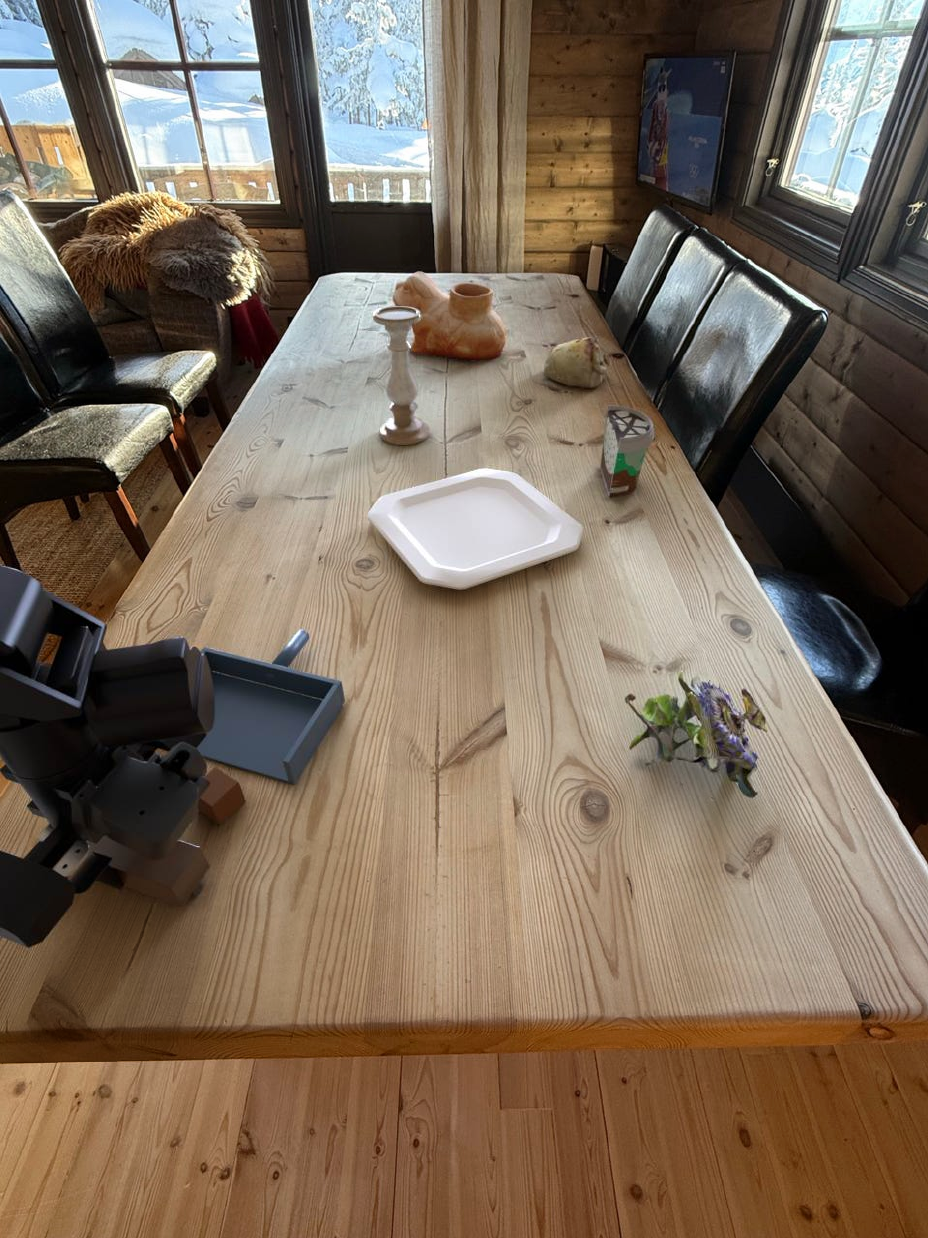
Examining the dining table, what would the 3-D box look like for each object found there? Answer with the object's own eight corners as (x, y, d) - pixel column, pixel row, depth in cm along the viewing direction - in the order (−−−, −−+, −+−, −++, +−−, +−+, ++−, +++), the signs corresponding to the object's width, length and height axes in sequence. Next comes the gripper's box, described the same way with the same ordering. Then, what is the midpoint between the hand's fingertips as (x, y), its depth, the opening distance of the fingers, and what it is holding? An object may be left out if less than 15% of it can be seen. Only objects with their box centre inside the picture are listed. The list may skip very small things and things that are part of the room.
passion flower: (713, 797, 66) (798, 797, 54) (612, 799, 63) (680, 800, 52) (700, 685, 69) (779, 663, 57) (604, 683, 66) (666, 659, 55)
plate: (599, 552, 88) (601, 538, 87) (435, 610, 79) (434, 595, 78) (502, 474, 105) (502, 461, 103) (357, 514, 96) (355, 501, 94)
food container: (651, 502, 98) (664, 439, 92) (610, 502, 98) (620, 439, 92) (636, 463, 108) (647, 403, 101) (598, 463, 108) (607, 403, 101)
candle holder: (389, 449, 111) (379, 324, 98) (373, 429, 118) (361, 308, 104) (437, 440, 114) (433, 316, 101) (419, 420, 120) (413, 301, 107)
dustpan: (294, 785, 61) (288, 763, 58) (148, 741, 64) (137, 719, 62) (372, 659, 73) (370, 637, 71) (246, 629, 77) (240, 607, 75)
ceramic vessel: (412, 332, 158) (408, 263, 148) (514, 346, 150) (518, 274, 140) (384, 350, 148) (378, 278, 138) (492, 367, 140) (494, 291, 131)
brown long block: (63, 868, 54) (43, 842, 52) (94, 831, 57) (76, 805, 54) (186, 914, 52) (171, 889, 49) (213, 872, 54) (200, 847, 52)
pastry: (615, 386, 132) (621, 345, 127) (556, 392, 130) (560, 350, 125) (589, 362, 142) (594, 323, 137) (534, 367, 140) (537, 328, 135)
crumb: (197, 809, 59) (188, 790, 57) (223, 786, 61) (215, 766, 59) (220, 826, 57) (211, 806, 55) (246, 801, 59) (238, 781, 57)
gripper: (42, 914, 35) (139, 1020, 45) (240, 674, 48) (279, 797, 58) (-113, 853, 37) (11, 966, 48) (115, 642, 51) (174, 765, 61)
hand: (133, 864), depth 54 cm, fingers closed on brown long block, 3 cm apart
